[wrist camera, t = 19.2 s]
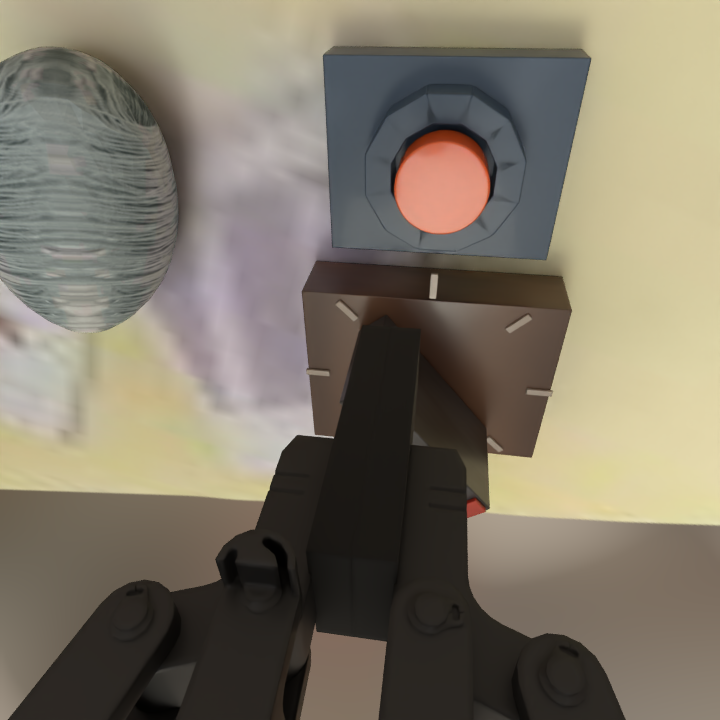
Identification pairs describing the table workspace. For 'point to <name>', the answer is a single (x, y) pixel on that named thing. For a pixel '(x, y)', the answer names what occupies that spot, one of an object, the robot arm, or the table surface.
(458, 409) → the pointer
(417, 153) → the button
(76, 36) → the table surface
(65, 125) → the grey striped ovoid
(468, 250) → the buzzer
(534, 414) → the dial console
